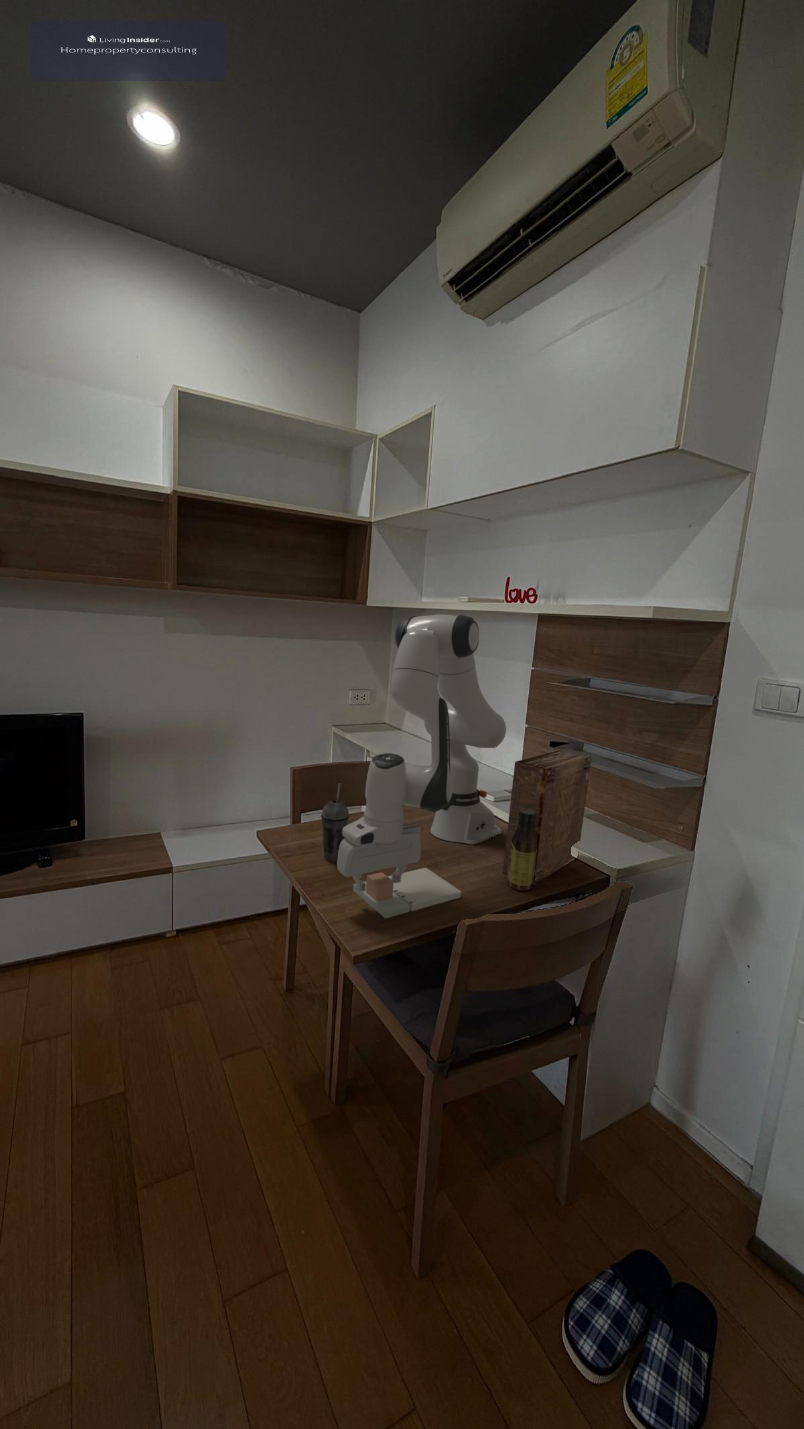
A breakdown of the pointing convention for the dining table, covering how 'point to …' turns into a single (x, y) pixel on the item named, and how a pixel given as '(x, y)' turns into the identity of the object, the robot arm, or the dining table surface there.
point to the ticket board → (424, 889)
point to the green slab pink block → (382, 896)
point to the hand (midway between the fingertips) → (378, 886)
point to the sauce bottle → (523, 852)
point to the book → (550, 806)
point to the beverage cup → (333, 826)
